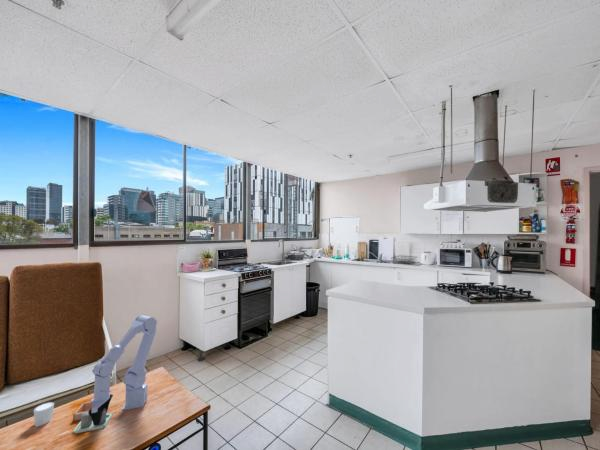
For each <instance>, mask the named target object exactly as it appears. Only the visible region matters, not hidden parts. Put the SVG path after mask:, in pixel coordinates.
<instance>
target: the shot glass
mask: <svg viewBox="0 0 600 450" xmlns="http://www.w3.org/2000/svg"><path fill="white" fill-rule="evenodd" d="M54 409H55V402H53V401H49V402H45V403H41V404H40V405H38V406H36V407H35V408H34V409H33V420H34V422H33V423H34V427H40V426H43V425H45V424H47V423H49V422H51V420H52V419H53V413H54Z"/></svg>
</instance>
